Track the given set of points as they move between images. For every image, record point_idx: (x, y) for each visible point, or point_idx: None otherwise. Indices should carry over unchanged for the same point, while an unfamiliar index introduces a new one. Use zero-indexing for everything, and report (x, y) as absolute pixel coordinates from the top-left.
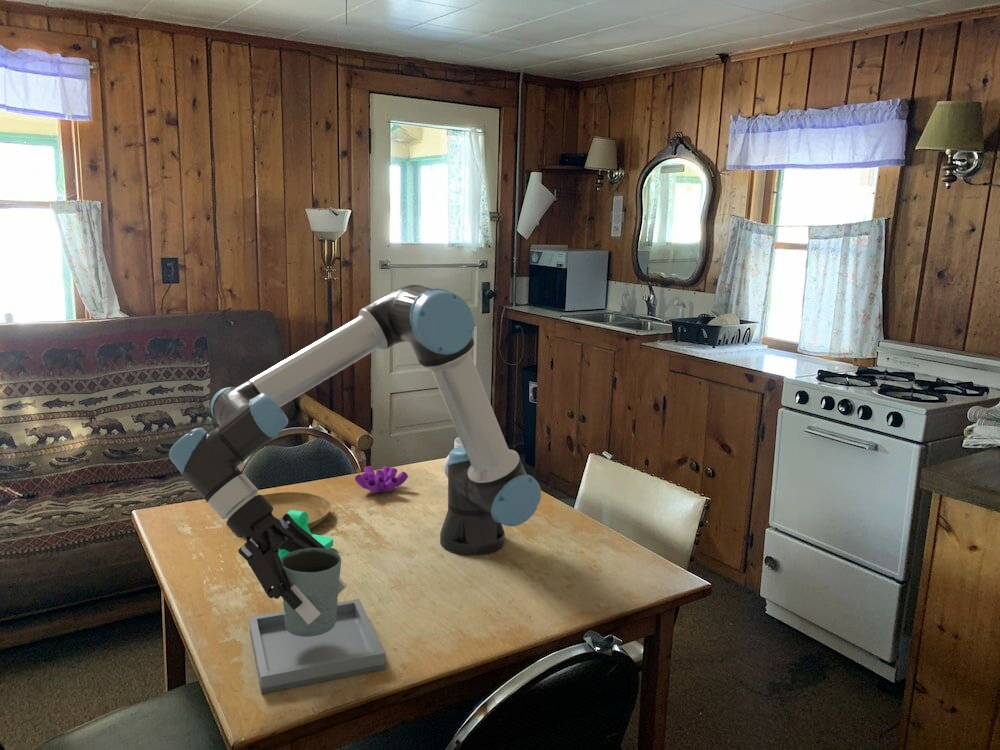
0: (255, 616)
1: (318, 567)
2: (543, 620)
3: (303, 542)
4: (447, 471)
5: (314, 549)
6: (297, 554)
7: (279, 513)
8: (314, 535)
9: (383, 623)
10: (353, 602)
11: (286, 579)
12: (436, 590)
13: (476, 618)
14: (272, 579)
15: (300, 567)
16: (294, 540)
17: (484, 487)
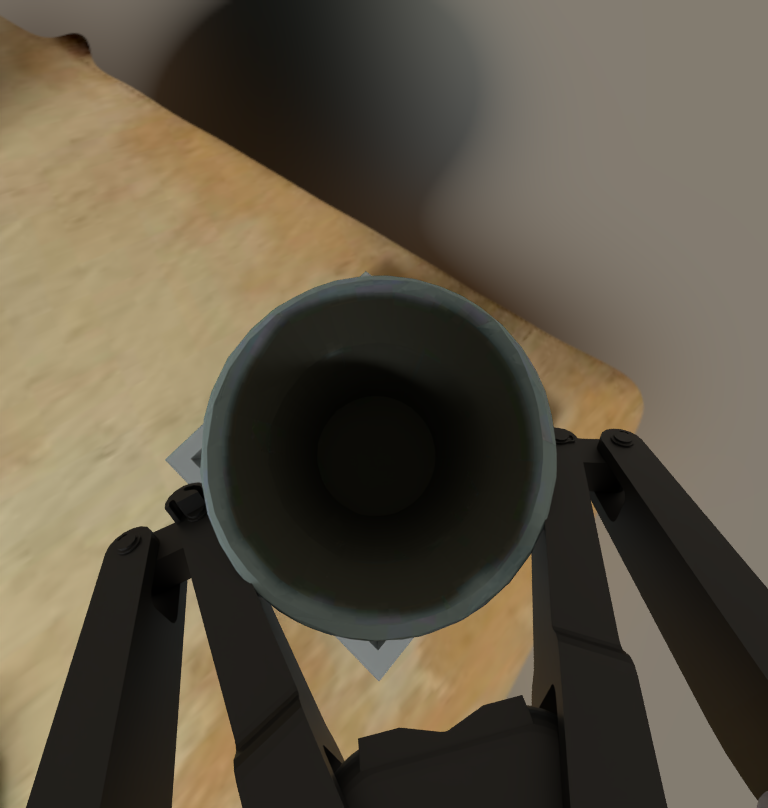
0: (368, 665)
1: (275, 482)
2: (81, 116)
3: (212, 636)
4: None
5: (229, 525)
6: (316, 595)
7: None
8: None
9: (211, 384)
10: (189, 461)
11: None
12: (12, 354)
13: (117, 224)
14: (670, 474)
15: (326, 552)
16: (277, 690)
17: None
